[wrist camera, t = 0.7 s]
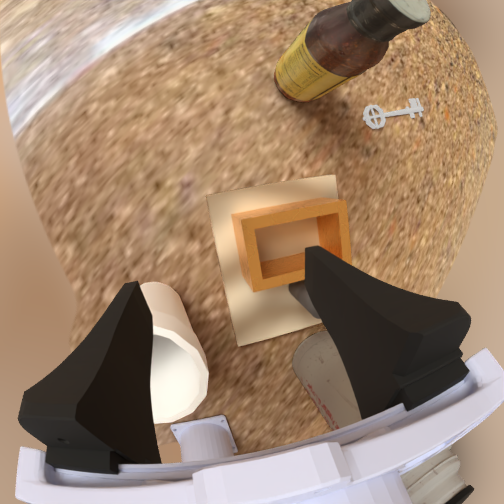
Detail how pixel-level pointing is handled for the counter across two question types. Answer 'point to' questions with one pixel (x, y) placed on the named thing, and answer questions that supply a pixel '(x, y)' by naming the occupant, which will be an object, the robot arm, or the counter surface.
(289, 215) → the orange wooden hollow box
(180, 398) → the foam cup
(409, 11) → the sauce bottle
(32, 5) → the counter surface
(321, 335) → the thermos bottle
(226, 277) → the board
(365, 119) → the key
